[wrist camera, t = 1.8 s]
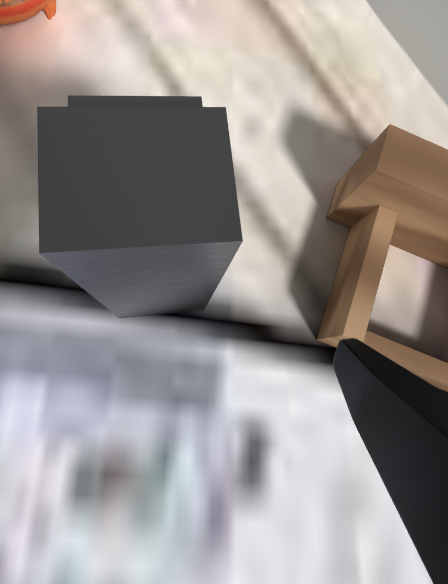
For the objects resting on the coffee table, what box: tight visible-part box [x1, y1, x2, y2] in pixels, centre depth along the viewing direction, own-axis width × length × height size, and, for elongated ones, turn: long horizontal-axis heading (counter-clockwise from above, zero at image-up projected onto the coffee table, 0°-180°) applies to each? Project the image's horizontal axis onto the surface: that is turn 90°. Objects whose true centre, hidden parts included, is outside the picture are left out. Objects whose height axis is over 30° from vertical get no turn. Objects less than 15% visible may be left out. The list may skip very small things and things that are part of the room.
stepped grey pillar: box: [37, 96, 243, 318], centre depth 15 cm, size 5×5×12 cm
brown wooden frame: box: [316, 124, 448, 392], centre depth 21 cm, size 11×14×6 cm
